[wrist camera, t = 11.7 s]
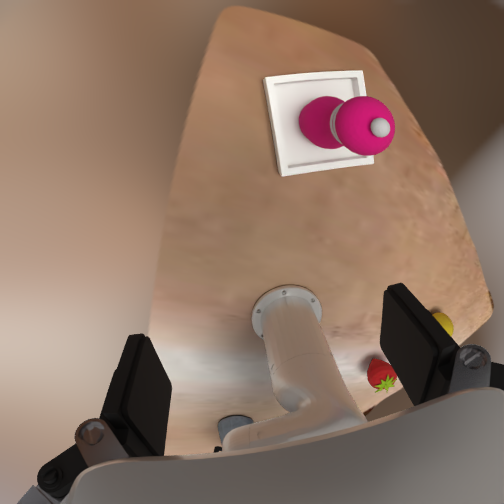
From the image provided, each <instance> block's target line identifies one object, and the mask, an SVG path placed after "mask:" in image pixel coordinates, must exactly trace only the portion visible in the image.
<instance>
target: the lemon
mask: <svg viewBox="0 0 504 504" xmlns="http://www.w3.org/2000/svg"><path fill="white" fill-rule="evenodd" d="M433 316H434V317H435V319H436V320H437V321H438V322H439V323H440V324H441V326H442V327H443V328H444V329H445V330H446V331H447V333H448V334H449V335H450V336H452V334H453V324H452V321H451V320H450V318H449V317H448V316H447V315H446V314H444V313H440V312H438V313H434V314H433Z"/></svg>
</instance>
